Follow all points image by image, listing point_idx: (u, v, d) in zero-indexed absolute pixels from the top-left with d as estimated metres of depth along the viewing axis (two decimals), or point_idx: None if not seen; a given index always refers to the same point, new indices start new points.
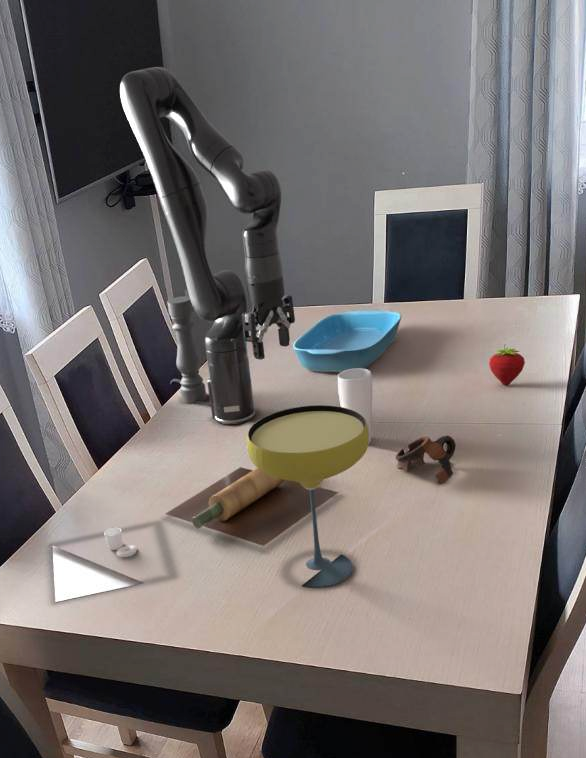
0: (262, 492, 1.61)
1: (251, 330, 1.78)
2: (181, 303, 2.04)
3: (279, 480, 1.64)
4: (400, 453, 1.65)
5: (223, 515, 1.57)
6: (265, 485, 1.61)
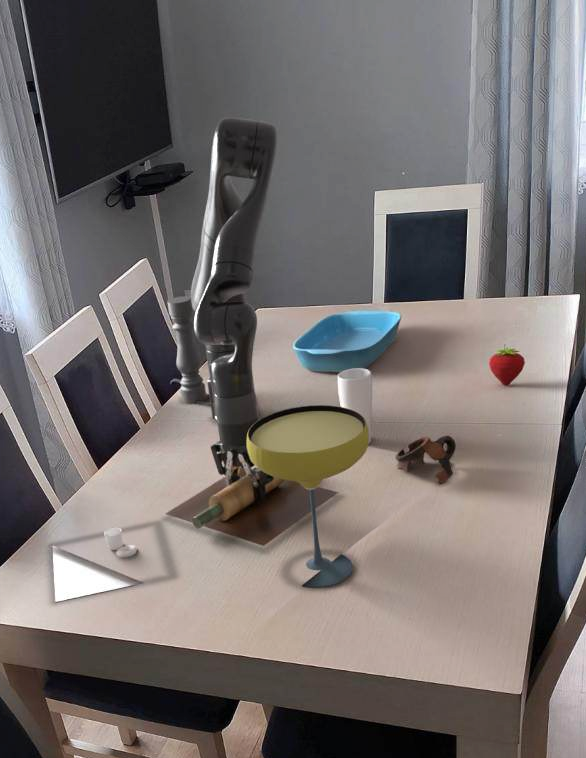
0: None
1: None
2: (181, 303, 2.04)
3: (279, 480, 1.64)
4: (400, 453, 1.65)
5: (223, 515, 1.57)
6: (265, 485, 1.61)
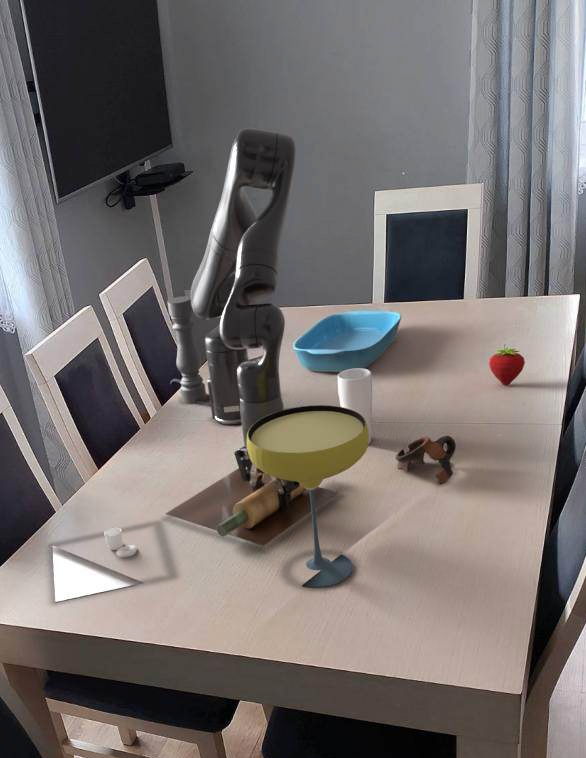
0: None
1: None
2: (181, 303, 2.04)
3: None
4: (400, 453, 1.65)
5: (248, 522, 1.53)
6: None
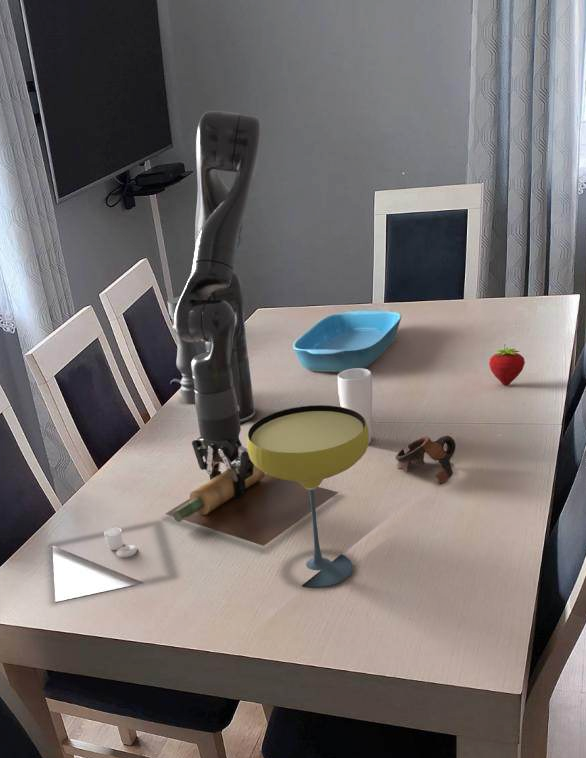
0: None
1: None
2: None
3: (259, 475, 1.67)
4: (400, 453, 1.65)
5: (204, 509, 1.60)
6: (245, 480, 1.64)
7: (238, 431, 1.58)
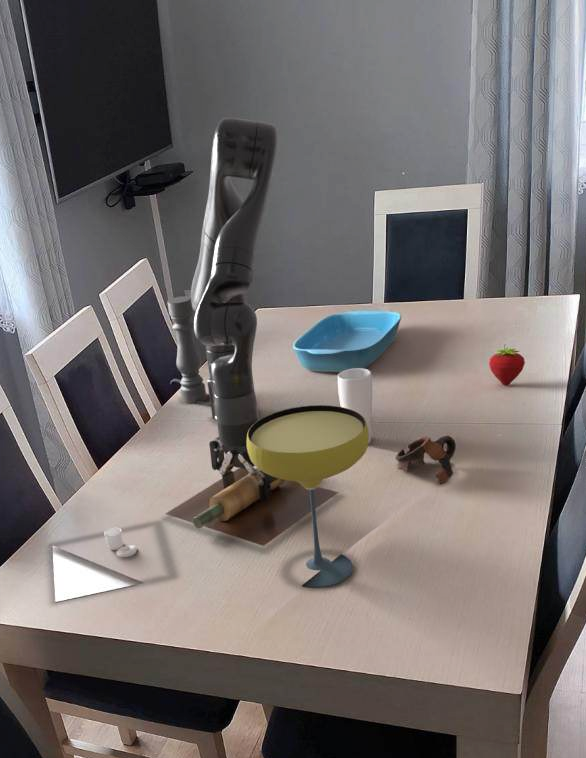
0: None
1: None
2: (181, 303, 2.04)
3: (280, 480, 1.64)
4: (400, 453, 1.65)
5: (224, 515, 1.57)
6: None
7: None
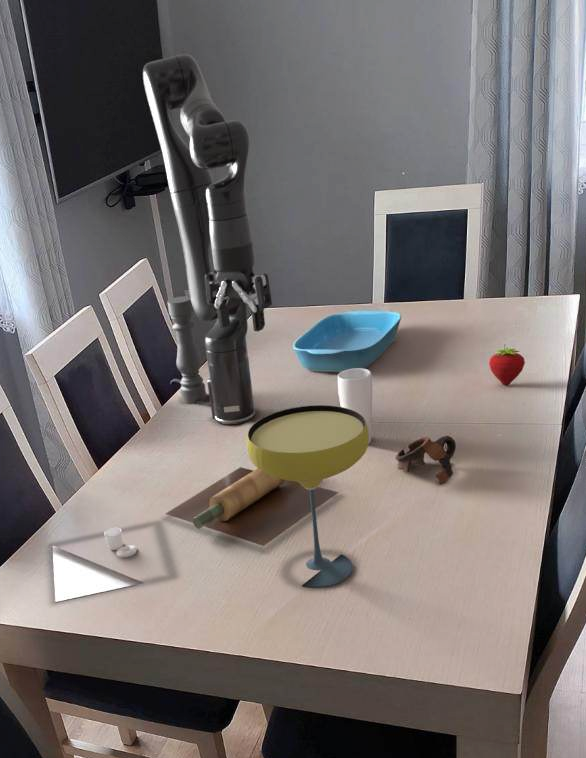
0: (263, 492, 1.61)
1: None
2: (181, 303, 2.04)
3: (280, 480, 1.64)
4: (400, 453, 1.65)
5: (224, 515, 1.57)
6: (265, 485, 1.61)
7: (252, 263, 1.60)
